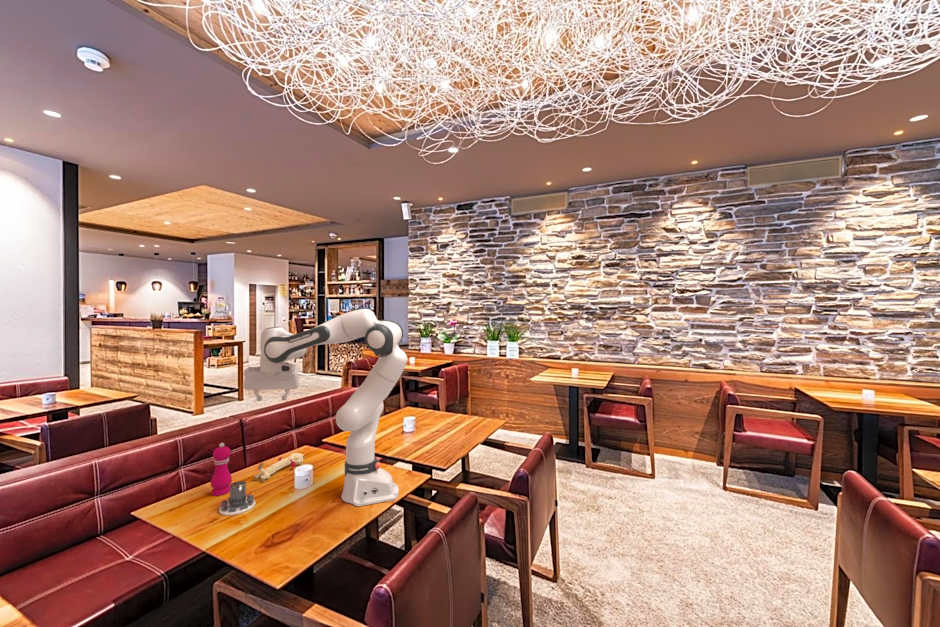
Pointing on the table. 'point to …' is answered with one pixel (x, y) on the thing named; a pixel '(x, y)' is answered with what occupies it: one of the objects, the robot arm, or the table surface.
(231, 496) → the sleeve nut
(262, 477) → the cream dog bone
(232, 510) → the castellated coaster
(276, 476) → the table surface
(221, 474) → the pepper mill
